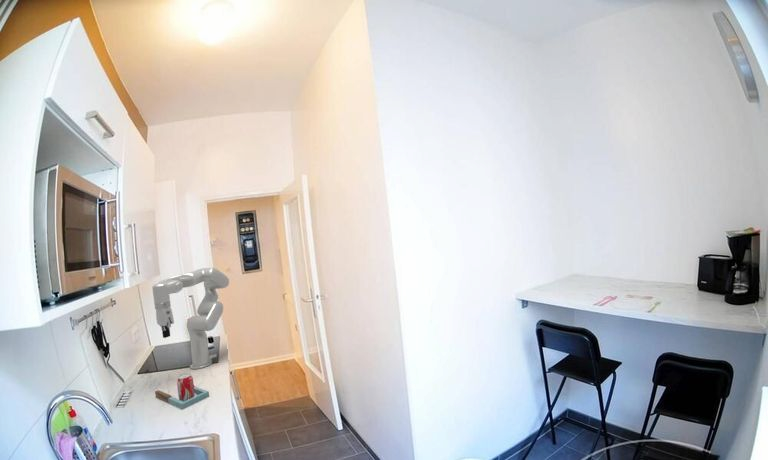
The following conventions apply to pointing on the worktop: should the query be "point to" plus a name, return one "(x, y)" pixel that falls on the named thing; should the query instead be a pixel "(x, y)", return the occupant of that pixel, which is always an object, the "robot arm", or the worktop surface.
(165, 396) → the channel
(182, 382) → the soda can
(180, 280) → the robot arm
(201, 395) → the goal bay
